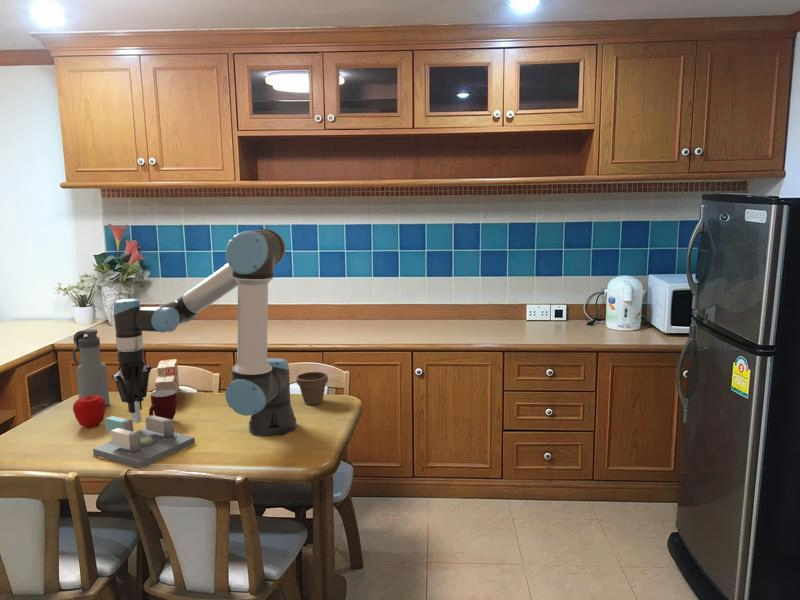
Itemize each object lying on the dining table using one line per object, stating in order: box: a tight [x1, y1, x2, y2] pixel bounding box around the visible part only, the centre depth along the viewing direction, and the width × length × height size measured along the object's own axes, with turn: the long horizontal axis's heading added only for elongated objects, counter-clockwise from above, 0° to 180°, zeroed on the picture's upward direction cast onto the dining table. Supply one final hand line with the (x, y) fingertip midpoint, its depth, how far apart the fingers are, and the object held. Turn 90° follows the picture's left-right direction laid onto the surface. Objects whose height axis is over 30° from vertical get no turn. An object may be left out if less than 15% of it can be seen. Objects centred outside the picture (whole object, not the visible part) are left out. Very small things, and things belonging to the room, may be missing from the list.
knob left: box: [110, 428, 141, 453], centre depth 179 cm, size 10×3×5 cm, turn 62°
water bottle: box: [72, 328, 110, 407], centre depth 223 cm, size 10×10×28 cm
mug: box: [148, 389, 178, 421], centre depth 206 cm, size 11×8×10 cm
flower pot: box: [295, 371, 329, 406], centre depth 226 cm, size 12×11×10 cm
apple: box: [72, 395, 107, 429], centre depth 204 cm, size 10×10×11 cm
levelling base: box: [92, 427, 196, 469], centre depth 185 cm, size 20×20×3 cm
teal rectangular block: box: [105, 415, 134, 433], centre depth 189 cm, size 10×3×5 cm, turn 62°
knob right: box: [145, 414, 175, 439], centre depth 190 cm, size 10×3×5 cm, turn 62°
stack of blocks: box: [154, 358, 180, 395], centre depth 233 cm, size 21×6×12 cm, turn 15°
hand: (136, 421), depth 196 cm, fingers closed
